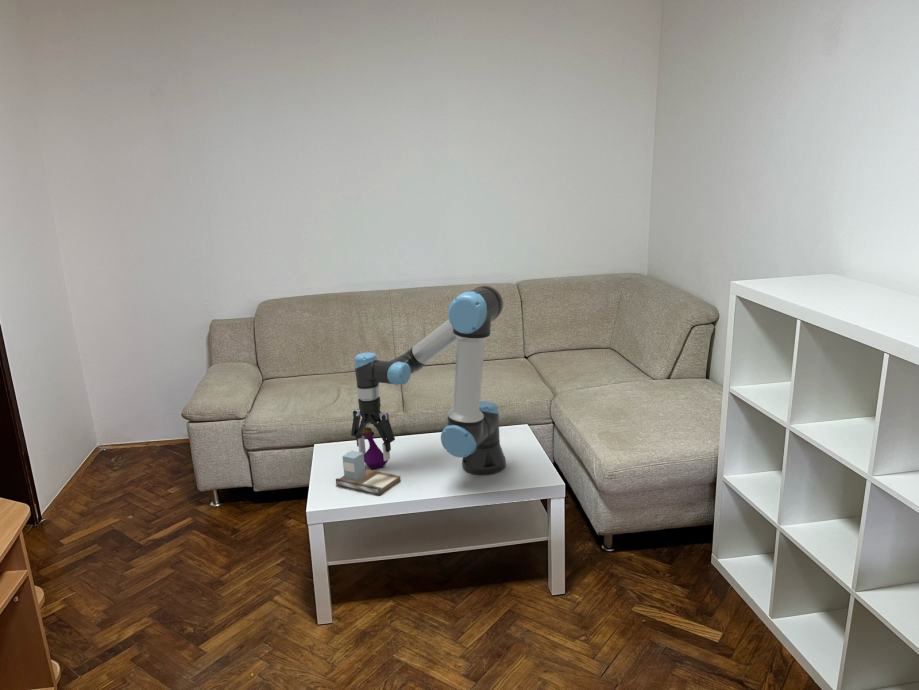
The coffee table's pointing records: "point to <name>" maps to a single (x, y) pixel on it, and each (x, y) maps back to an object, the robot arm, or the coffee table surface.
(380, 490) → the display board
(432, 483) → the coffee table surface
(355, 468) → the tea tin
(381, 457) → the perfume bottle
